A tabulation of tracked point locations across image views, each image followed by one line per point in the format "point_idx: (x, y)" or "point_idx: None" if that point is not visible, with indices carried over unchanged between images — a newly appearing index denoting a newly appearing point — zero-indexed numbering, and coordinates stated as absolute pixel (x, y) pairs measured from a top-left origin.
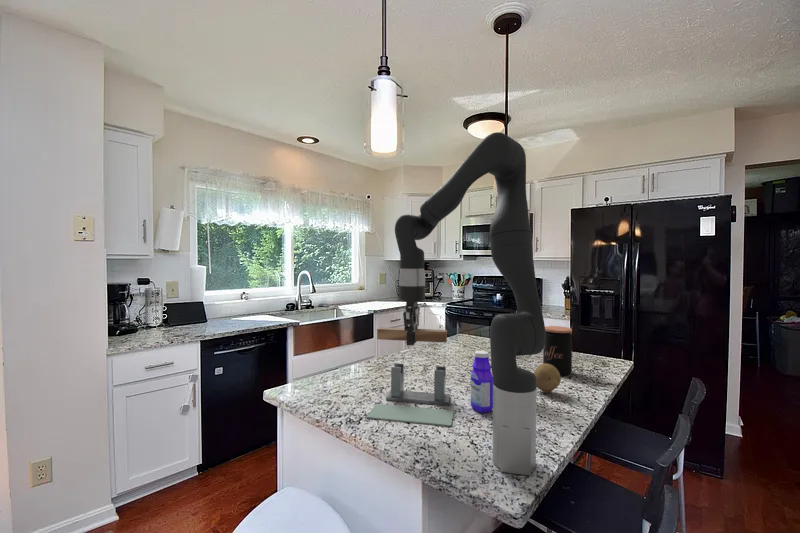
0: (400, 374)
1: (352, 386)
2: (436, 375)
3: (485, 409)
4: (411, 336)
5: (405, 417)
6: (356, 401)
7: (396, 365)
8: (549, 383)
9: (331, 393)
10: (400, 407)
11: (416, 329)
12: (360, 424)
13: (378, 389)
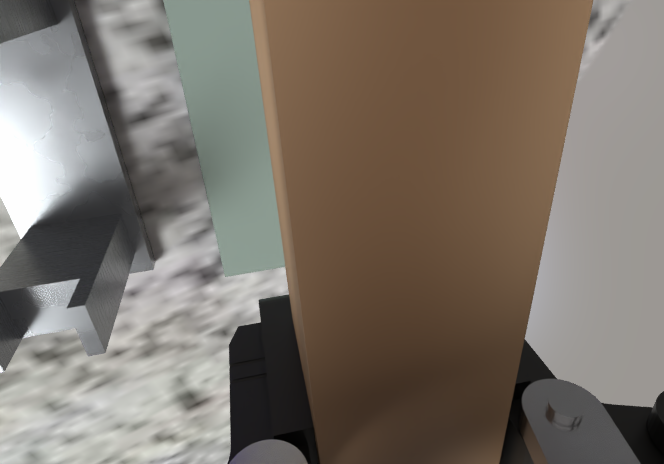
0: (88, 280)
1: (78, 429)
2: None
3: None
4: (530, 358)
5: None
6: (223, 345)
7: (3, 353)
8: None
9: (190, 441)
10: (221, 172)
11: (390, 430)
12: None
13: (44, 339)
